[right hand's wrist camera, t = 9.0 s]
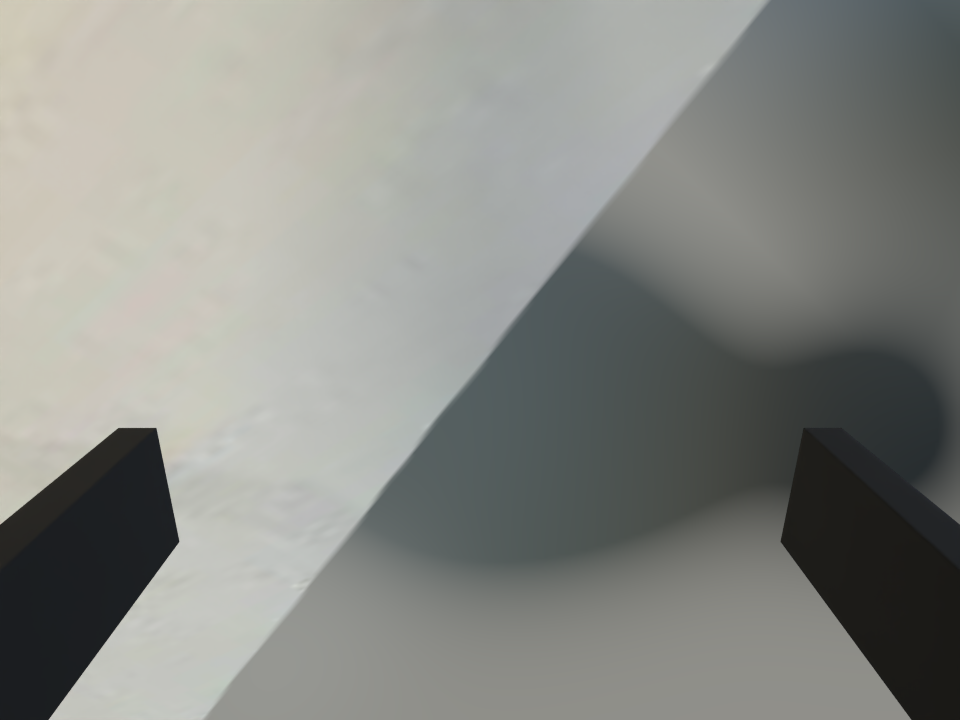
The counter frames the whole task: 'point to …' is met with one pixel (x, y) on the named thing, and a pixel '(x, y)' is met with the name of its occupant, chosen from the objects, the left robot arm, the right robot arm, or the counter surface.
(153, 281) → the counter surface
